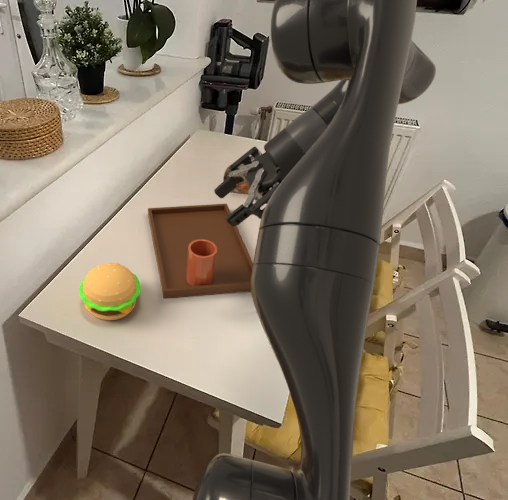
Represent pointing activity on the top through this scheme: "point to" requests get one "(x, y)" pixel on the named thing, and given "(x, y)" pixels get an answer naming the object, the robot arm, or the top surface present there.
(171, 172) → the top surface
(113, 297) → the hamburger
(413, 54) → the robot arm
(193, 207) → the tray
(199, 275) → the reddish brown cup
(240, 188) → the tin
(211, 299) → the top surface
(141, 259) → the top surface
